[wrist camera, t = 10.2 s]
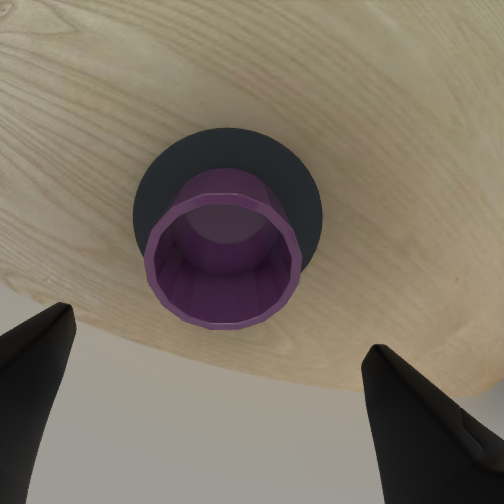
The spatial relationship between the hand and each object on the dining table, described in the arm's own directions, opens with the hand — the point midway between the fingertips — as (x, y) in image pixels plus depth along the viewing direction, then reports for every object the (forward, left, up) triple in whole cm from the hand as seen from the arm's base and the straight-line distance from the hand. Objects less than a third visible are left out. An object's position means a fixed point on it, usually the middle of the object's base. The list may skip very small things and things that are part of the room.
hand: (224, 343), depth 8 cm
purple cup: (0, 0, -8) cm, 8 cm away
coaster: (0, 0, -9) cm, 9 cm away
